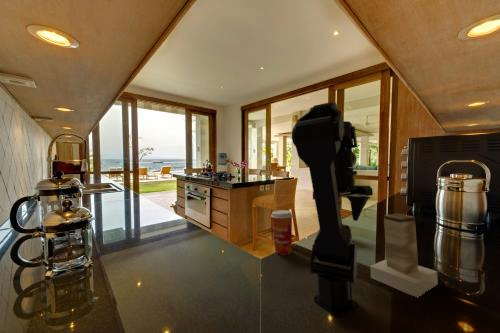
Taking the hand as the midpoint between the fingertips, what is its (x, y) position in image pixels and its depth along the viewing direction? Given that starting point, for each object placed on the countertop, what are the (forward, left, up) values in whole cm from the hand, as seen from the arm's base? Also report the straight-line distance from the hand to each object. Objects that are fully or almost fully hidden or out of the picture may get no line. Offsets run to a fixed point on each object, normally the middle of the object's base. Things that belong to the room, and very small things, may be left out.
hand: (344, 223), depth 58 cm
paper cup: (-7, +20, -13) cm, 25 cm away
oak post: (+6, -11, -10) cm, 16 cm away
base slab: (+6, -11, -13) cm, 18 cm away
